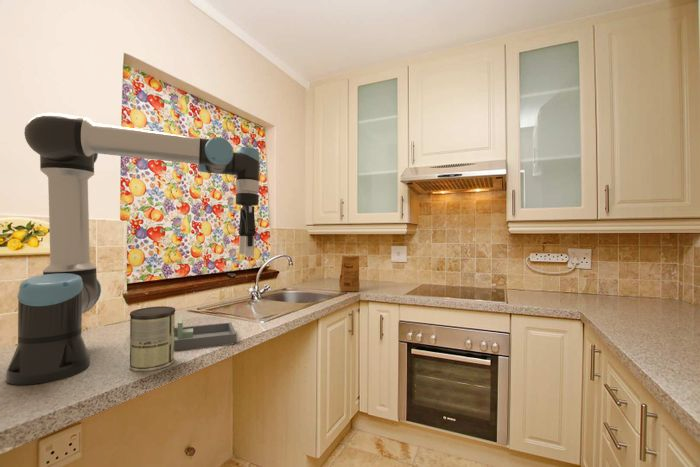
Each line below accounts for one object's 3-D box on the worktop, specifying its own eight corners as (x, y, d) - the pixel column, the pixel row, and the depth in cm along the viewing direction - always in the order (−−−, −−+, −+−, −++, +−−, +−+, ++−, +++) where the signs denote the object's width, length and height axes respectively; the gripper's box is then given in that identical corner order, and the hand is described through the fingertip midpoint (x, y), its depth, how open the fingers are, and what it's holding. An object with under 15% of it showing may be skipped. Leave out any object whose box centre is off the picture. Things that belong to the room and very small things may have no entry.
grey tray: (171, 351, 97) (171, 340, 97) (173, 336, 110) (174, 327, 110) (236, 343, 104) (236, 333, 105) (231, 330, 118) (231, 322, 118)
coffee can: (123, 364, 87) (124, 310, 87) (165, 353, 95) (165, 304, 95) (137, 375, 80) (138, 317, 80) (181, 363, 88) (182, 310, 88)
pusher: (177, 346, 99) (177, 323, 99) (178, 335, 110) (179, 314, 110) (192, 345, 101) (193, 322, 101) (192, 334, 111) (193, 313, 111)
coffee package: (339, 289, 211) (339, 255, 211) (358, 289, 212) (359, 255, 212) (339, 292, 201) (339, 256, 201) (359, 292, 202) (360, 256, 202)
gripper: (266, 190, 104) (264, 257, 104) (252, 197, 127) (251, 253, 126) (241, 188, 101) (239, 257, 101) (231, 196, 123) (230, 253, 123)
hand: (245, 255), depth 113 cm, fingers open, 13 cm apart
